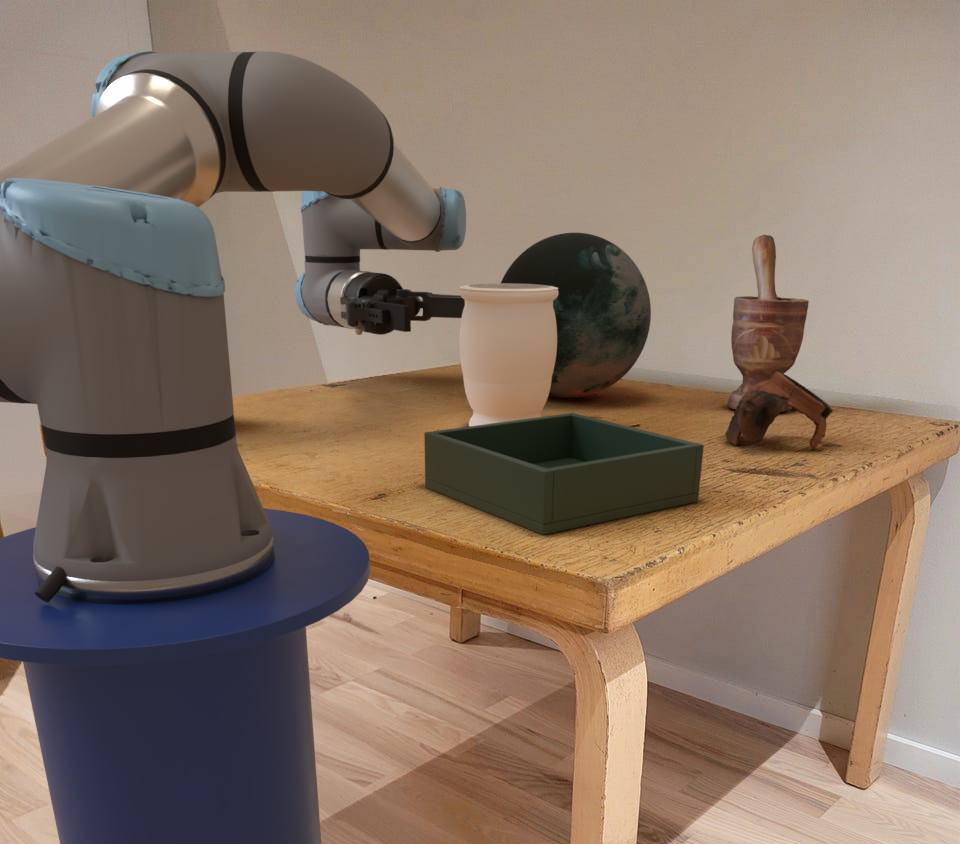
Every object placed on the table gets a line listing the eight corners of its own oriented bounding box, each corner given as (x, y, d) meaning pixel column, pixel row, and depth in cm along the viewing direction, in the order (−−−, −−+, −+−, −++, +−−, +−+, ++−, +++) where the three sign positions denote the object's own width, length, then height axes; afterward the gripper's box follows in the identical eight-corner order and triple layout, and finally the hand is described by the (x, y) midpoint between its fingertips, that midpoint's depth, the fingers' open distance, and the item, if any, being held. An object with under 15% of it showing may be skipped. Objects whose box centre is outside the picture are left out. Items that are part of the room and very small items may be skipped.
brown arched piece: (736, 434, 108) (783, 370, 104) (801, 484, 104) (852, 420, 100) (694, 422, 98) (745, 351, 94) (765, 477, 94) (820, 405, 91)
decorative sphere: (616, 416, 114) (629, 234, 106) (466, 402, 122) (467, 232, 114) (662, 391, 131) (675, 233, 123) (527, 380, 139) (531, 230, 131)
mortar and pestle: (696, 400, 125) (713, 234, 117) (753, 397, 127) (773, 234, 119) (747, 416, 115) (769, 236, 107) (808, 413, 117) (833, 236, 109)
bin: (543, 535, 71) (545, 471, 69) (424, 487, 84) (423, 432, 82) (698, 501, 80) (704, 444, 78) (570, 462, 92) (572, 412, 91)
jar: (445, 433, 105) (444, 287, 99) (478, 416, 114) (479, 281, 108) (537, 441, 101) (542, 290, 95) (564, 423, 110) (570, 284, 104)
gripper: (447, 326, 134) (542, 342, 118) (282, 338, 121) (364, 357, 105) (447, 269, 131) (544, 278, 115) (277, 274, 118) (361, 284, 102)
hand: (458, 316), depth 110 cm, fingers open, 13 cm apart
